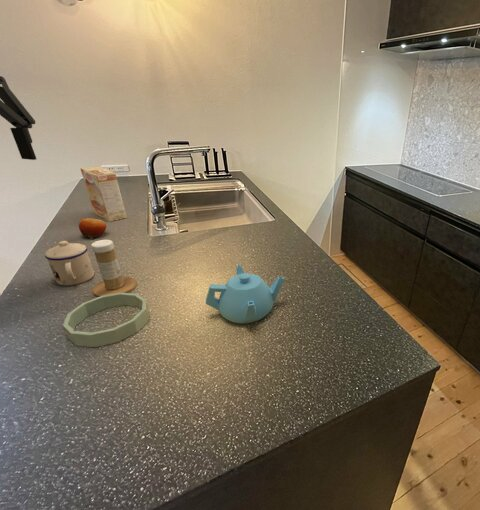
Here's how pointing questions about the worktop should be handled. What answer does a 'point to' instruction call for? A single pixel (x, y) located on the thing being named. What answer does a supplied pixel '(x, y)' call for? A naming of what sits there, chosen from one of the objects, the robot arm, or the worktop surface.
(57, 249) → the teacup with lid
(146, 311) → the green ring
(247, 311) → the teapot
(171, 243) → the worktop surface
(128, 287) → the coaster
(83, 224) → the fruit
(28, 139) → the robot arm
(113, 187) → the coffeecake box
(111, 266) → the sprinkles bottle
